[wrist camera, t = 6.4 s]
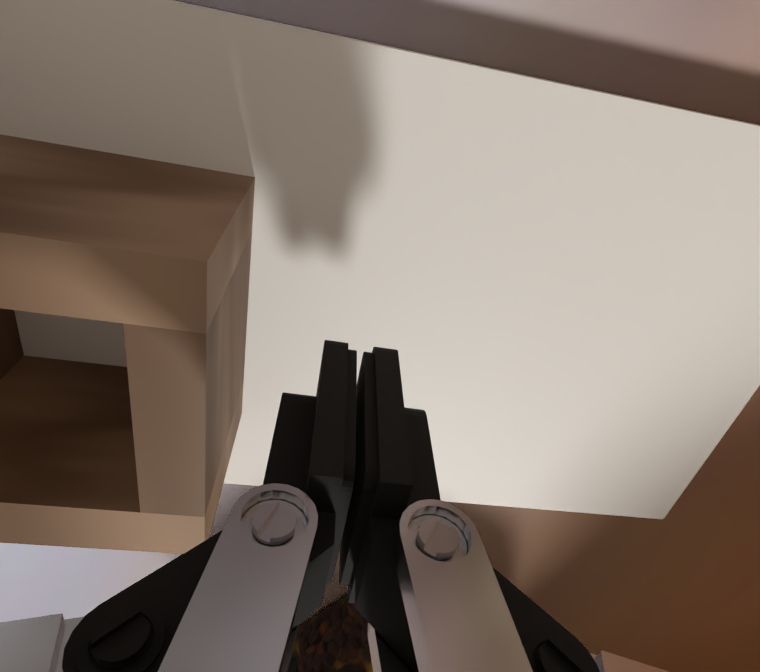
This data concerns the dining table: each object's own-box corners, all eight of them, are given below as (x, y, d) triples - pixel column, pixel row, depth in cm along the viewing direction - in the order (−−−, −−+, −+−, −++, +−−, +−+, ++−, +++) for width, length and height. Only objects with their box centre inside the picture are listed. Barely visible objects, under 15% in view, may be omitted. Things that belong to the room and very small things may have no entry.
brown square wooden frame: (255, 177, 12) (206, 261, 8) (241, 413, 16) (204, 555, 12) (-92, 118, 11) (-361, 181, 7) (-18, 387, 15) (-160, 532, 11)
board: (886, 151, 14) (1404, 281, 7) (650, 498, 21) (795, 728, 14) (-217, -83, 10) (-1378, -289, 3) (-44, 438, 17) (-295, 709, 10)
